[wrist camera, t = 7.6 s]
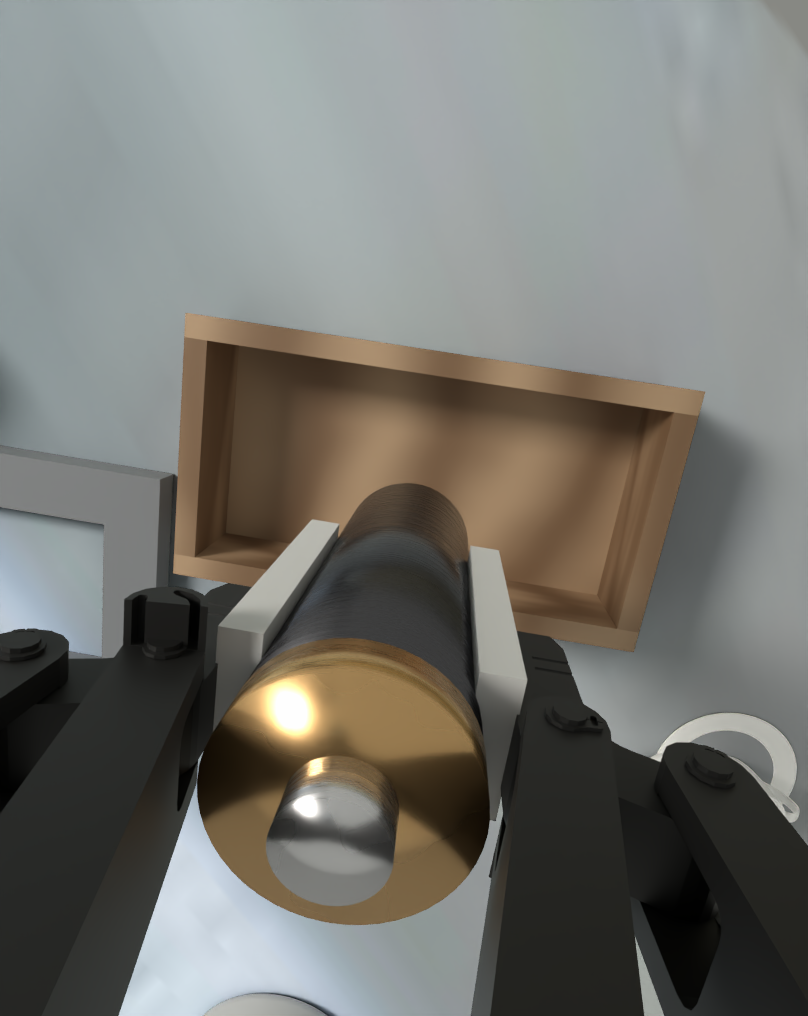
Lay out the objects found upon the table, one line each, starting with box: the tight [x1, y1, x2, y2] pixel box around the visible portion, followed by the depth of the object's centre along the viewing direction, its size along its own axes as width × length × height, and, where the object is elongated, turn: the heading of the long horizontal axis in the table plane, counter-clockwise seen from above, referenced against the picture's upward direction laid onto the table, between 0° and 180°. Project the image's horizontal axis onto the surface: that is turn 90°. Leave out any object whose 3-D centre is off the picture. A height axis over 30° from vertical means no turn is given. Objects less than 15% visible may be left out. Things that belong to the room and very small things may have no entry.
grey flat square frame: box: [0, 446, 173, 659], centre depth 34 cm, size 15×15×2 cm
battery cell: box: [197, 483, 490, 925], centre depth 14 cm, size 4×4×13 cm
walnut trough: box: [173, 313, 705, 652], centre depth 29 cm, size 22×12×5 cm, turn 82°
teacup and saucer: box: [650, 713, 800, 823], centre depth 33 cm, size 9×8×4 cm
